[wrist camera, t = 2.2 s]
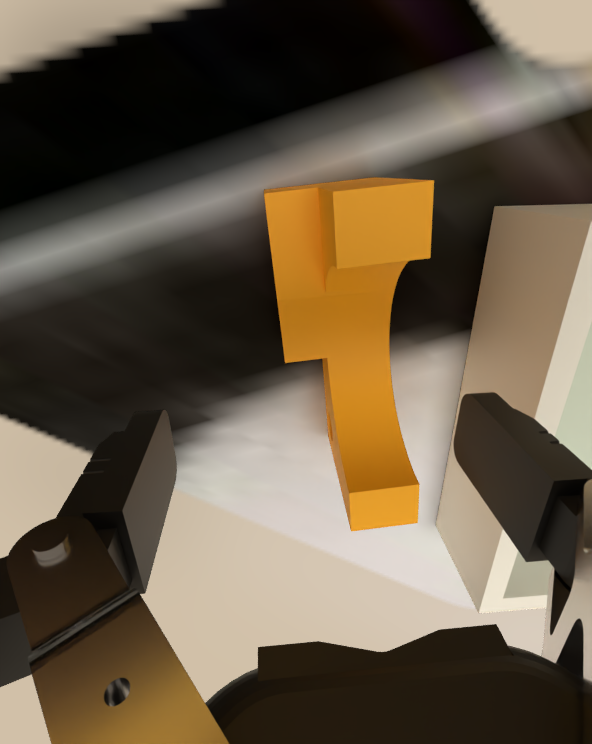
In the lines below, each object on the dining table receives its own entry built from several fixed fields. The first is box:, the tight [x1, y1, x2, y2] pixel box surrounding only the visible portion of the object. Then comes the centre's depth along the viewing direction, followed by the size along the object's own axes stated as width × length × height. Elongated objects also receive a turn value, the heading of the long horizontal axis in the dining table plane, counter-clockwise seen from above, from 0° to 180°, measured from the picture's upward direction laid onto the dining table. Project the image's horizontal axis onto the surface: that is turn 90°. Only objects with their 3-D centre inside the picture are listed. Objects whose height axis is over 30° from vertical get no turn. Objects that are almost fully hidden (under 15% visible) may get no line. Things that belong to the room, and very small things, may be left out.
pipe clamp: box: [264, 177, 434, 531], centre depth 16 cm, size 12×4×6 cm, turn 6°
